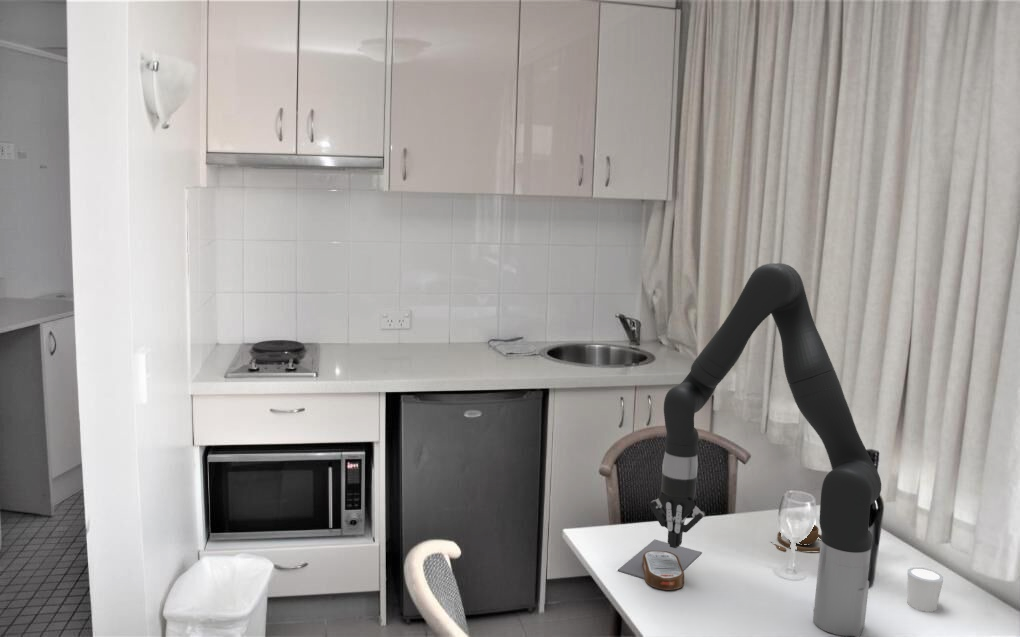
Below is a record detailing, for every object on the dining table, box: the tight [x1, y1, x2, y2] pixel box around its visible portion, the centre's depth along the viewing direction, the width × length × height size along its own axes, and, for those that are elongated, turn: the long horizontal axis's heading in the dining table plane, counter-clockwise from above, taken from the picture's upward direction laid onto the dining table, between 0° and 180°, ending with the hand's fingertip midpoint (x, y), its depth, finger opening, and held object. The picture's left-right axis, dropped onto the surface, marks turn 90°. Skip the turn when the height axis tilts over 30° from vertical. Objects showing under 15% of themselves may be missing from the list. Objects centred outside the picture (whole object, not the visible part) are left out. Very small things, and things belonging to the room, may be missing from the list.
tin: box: [642, 550, 685, 591], centre depth 185 cm, size 15×3×8 cm
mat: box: [617, 539, 703, 580], centre depth 192 cm, size 12×21×1 cm, turn 147°
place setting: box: [773, 524, 821, 552], centre depth 202 cm, size 18×20×6 cm
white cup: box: [906, 566, 944, 613], centre depth 176 cm, size 7×7×7 cm
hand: (674, 546), depth 186 cm, fingers closed
